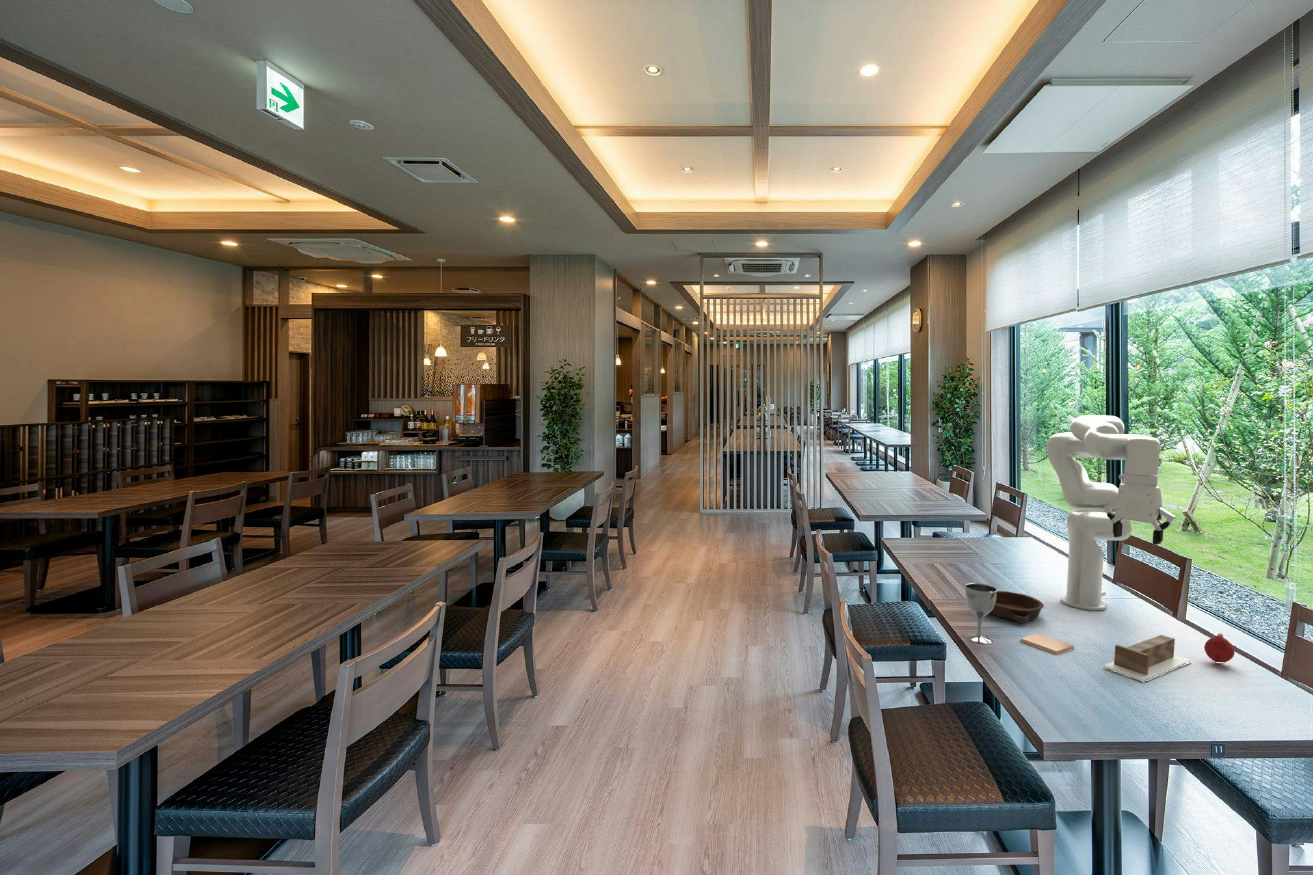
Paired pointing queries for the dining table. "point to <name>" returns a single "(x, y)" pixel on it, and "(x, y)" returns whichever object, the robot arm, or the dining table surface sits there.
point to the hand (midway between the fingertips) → (1136, 540)
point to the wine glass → (980, 607)
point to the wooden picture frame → (1047, 643)
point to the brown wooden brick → (1144, 654)
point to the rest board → (1150, 668)
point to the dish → (1016, 606)
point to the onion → (1219, 649)
